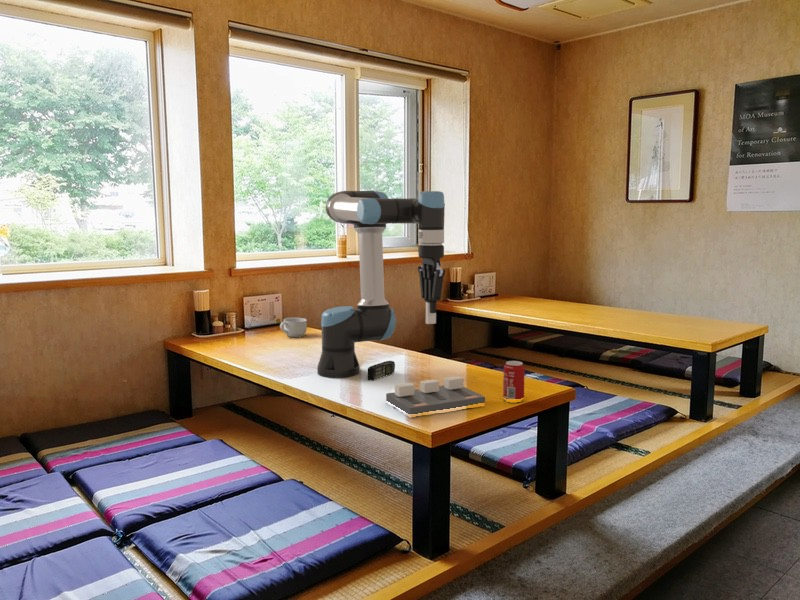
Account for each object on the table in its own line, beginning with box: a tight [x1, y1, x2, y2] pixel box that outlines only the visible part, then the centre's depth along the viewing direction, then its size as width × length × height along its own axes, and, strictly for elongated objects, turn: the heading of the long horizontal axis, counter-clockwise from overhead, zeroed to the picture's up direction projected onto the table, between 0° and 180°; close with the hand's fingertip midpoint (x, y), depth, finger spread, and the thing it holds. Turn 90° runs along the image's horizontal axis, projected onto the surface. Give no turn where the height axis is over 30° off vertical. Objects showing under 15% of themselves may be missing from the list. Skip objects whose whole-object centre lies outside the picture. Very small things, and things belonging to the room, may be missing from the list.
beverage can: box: [502, 360, 526, 399], centre depth 197 cm, size 6×6×12 cm
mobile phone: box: [367, 360, 396, 381], centre depth 227 cm, size 5×3×15 cm
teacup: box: [279, 317, 308, 338], centre depth 297 cm, size 14×11×8 cm
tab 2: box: [419, 378, 440, 393], centre depth 197 cm, size 3×5×3 cm, turn 116°
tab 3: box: [443, 375, 464, 390], centre depth 200 cm, size 3×5×3 cm, turn 116°
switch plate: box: [385, 385, 486, 414], centre depth 194 cm, size 16×25×3 cm, turn 116°
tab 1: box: [394, 382, 415, 397], centre depth 193 cm, size 3×5×3 cm, turn 116°
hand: (430, 323), depth 193 cm, fingers closed
